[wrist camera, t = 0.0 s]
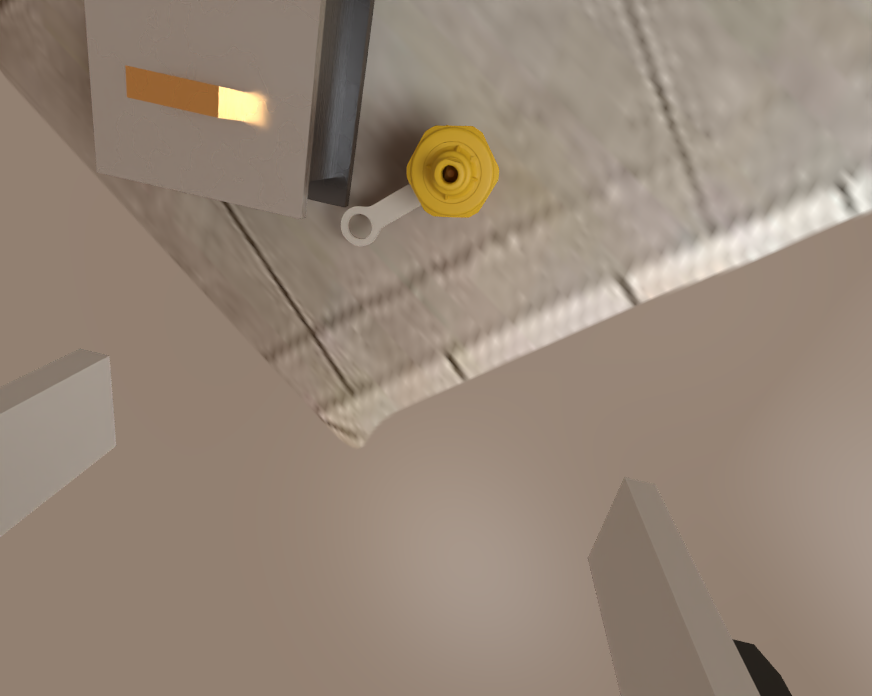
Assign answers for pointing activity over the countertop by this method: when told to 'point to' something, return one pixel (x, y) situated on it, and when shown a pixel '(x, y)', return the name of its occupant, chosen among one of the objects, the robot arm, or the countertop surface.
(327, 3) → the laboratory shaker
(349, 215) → the pressure relief valve
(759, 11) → the countertop surface
